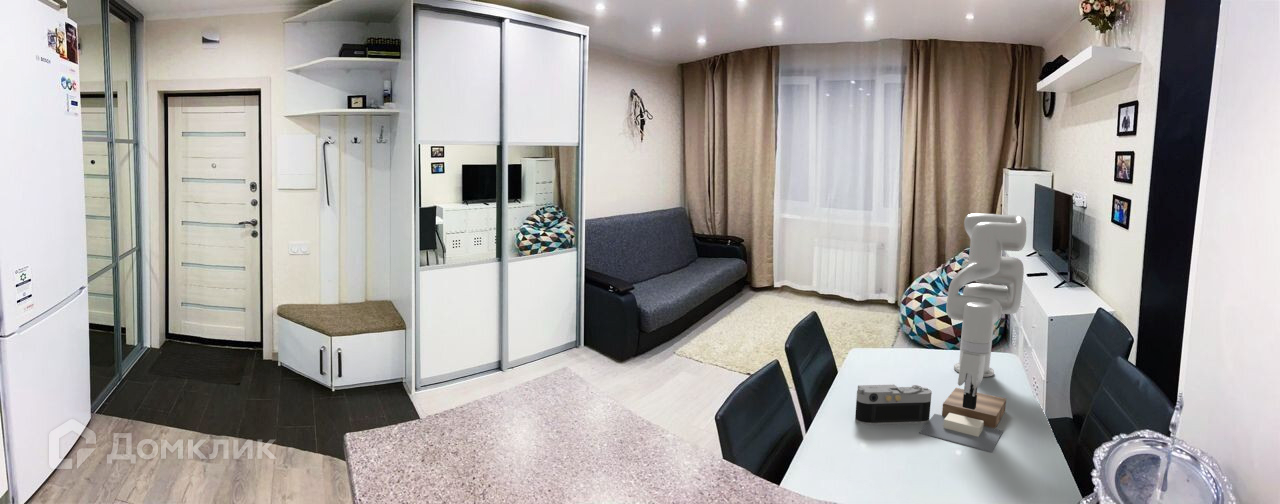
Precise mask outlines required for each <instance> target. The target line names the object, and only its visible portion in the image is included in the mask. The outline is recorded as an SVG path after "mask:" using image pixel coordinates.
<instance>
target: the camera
mask: <svg viewBox="0 0 1280 504" xmlns="http://www.w3.org/2000/svg"><path fill="white" fill-rule="evenodd" d="M932 394H933V393H932V390H931V389H929V388H928V387H923V386H920V385H918V384H912V385H911V386H897V385H895V384H867V385H866V384H864V385H862V384H861V385H860V384H859V385H857V391H856V398H855V399H856V400H855V402H856V403H855V417H854V421H855V422H856V423H858V424H861V425H868V426H869V425H870V426H871V425H872V426H873V425H906V424H907V425H909V424H911V425H912V424H927V422H928V421H929V420H930V415H931V414H930V413H931V404H932Z"/></svg>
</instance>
